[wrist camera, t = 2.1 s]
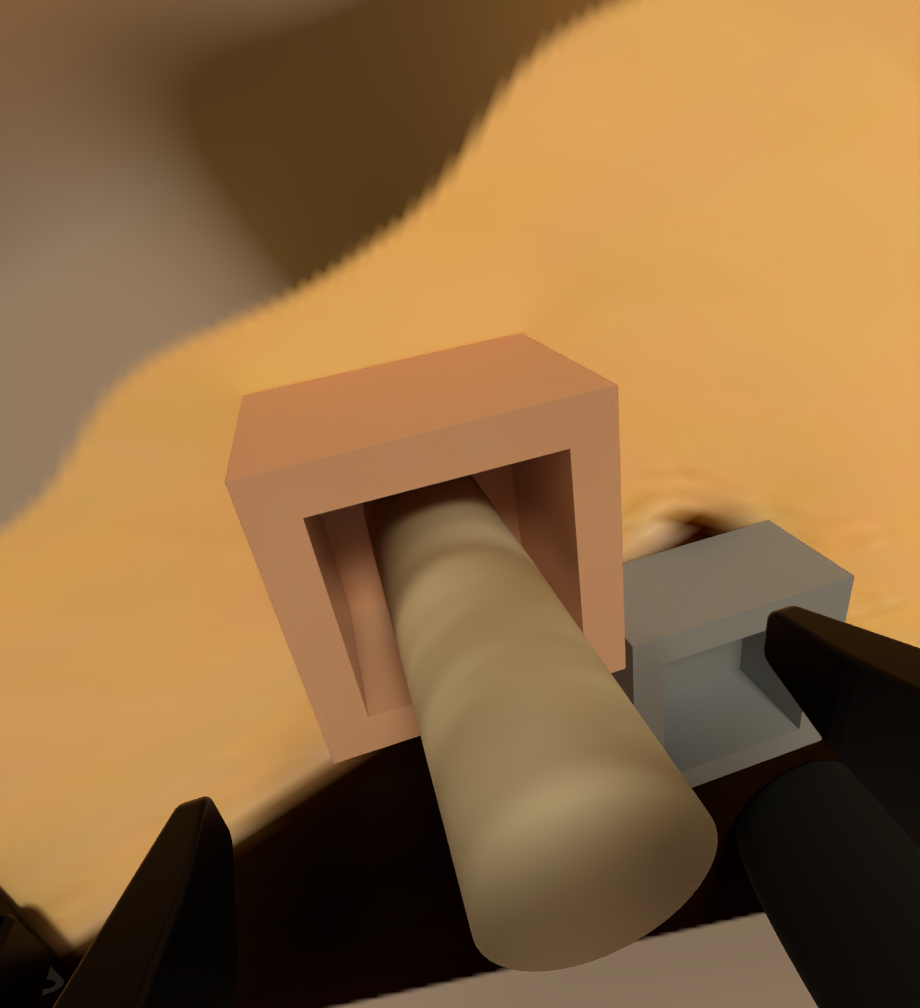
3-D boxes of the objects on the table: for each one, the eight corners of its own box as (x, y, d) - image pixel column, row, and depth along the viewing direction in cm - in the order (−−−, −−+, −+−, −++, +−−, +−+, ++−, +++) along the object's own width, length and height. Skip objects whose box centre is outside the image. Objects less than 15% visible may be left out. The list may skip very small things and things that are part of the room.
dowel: (378, 568, 16) (490, 1002, 7) (350, 467, 14) (449, 856, 6) (484, 538, 16) (711, 912, 8) (469, 437, 15) (725, 758, 6)
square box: (321, 624, 17) (334, 763, 13) (242, 395, 14) (224, 481, 10) (545, 559, 18) (625, 668, 14) (522, 333, 15) (617, 385, 11)
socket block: (588, 726, 22) (635, 808, 19) (577, 576, 19) (632, 646, 16) (752, 671, 24) (821, 740, 21) (768, 520, 20) (854, 576, 17)
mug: (801, 868, 32) (995, 1116, 23) (677, 866, 29) (849, 1157, 20) (944, 699, 28) (1240, 920, 20) (820, 673, 25) (1113, 928, 16)
